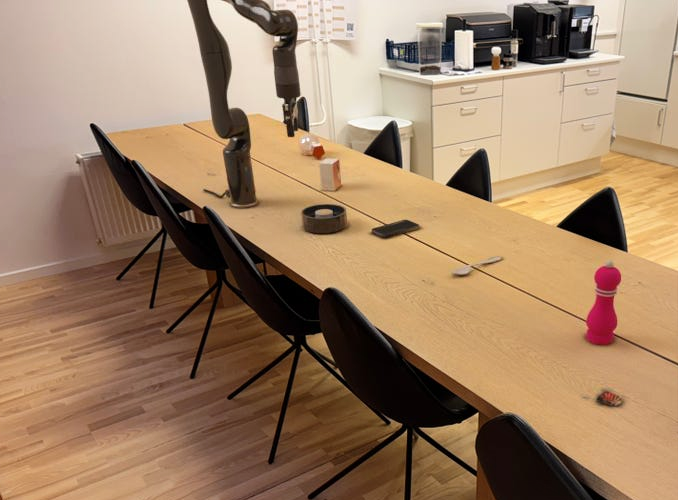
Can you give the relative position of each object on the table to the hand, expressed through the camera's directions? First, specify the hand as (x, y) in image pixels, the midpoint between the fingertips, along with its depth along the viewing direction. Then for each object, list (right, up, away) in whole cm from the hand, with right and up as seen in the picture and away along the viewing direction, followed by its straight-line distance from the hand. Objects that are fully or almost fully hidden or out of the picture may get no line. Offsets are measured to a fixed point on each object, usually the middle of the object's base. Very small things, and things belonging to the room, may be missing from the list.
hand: (293, 133), depth 223 cm
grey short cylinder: (+10, -29, +5) cm, 31 cm away
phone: (+34, -31, +3) cm, 46 cm away
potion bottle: (-10, +18, +85) cm, 88 cm away
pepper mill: (+87, -69, -60) cm, 126 cm away
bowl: (+10, -29, +6) cm, 31 cm away
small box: (+5, -7, +44) cm, 44 cm away
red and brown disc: (+84, -82, -82) cm, 144 cm away
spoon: (+59, -47, -23) cm, 79 cm away
